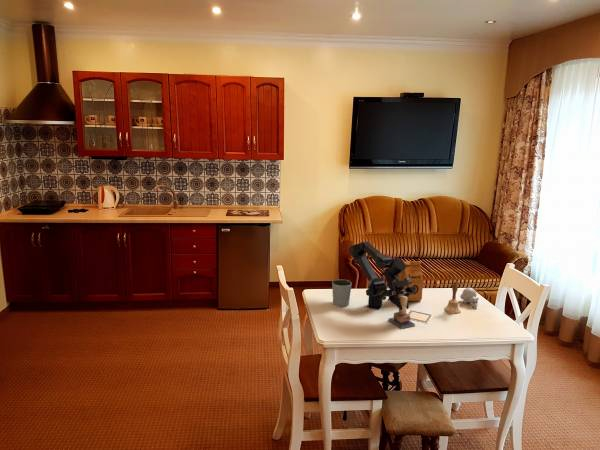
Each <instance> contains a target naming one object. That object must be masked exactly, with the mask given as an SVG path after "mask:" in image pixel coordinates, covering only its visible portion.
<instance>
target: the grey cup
mask: <svg viewBox="0 0 600 450" xmlns="http://www.w3.org/2000/svg"><path fill="white" fill-rule="evenodd" d="M331 285H332V287H331V288H332V304H333V306H335V305H336V307H338V306H339V307H340V308H346V307H348V306H350V299H351V298H350V296H351V290H352V282H351V280H348V279H343V278H341V279H340V278H339V279H335V280H332V282H331Z"/></svg>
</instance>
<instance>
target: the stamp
mask: <svg viewBox="0 0 600 450" xmlns="http://www.w3.org/2000/svg"><path fill="white" fill-rule="evenodd" d="M407 299H408V297H406V296H400V298H399V301H400V304H401V306H402V310H400V309H399V308H398V311H396V312H394V313H393V318H394V319H395V320H396V321H398V322H399V323H405V322H409V321H411V320H410V315H408V314H407V313H408V312H407Z"/></svg>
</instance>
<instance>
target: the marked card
mask: <svg viewBox="0 0 600 450" xmlns="http://www.w3.org/2000/svg"><path fill="white" fill-rule="evenodd" d="M406 313H407V314H408V315H410V321H411V320H412V321H415V322H420V323H424V324H427V325H428V324H429V322H430V321H431V320H432V318H433V317H434V315H433V314H431V313H426V312H421V311H416V310H412V309H409V310H408V311H407V312H406Z"/></svg>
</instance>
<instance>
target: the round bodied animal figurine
mask: <svg viewBox="0 0 600 450" xmlns="http://www.w3.org/2000/svg"><path fill="white" fill-rule="evenodd" d="M459 297H460V299H461V300H462V302H463V304H468V303H469V304H471V306H472V307H473V308H477V307H478V305H479V304H478V302H479V297H477V291H476V289H474V288H472V287H466V288H465V289H463V290H462V293H461V294H460V296H459Z"/></svg>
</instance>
